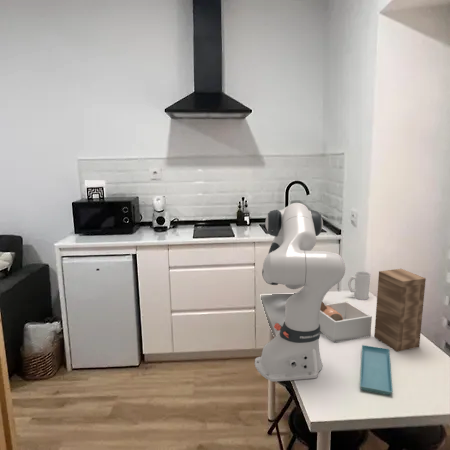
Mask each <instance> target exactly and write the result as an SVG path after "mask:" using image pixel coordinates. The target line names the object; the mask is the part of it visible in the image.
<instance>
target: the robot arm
mask: <svg viewBox="0 0 450 450" xmlns="http://www.w3.org/2000/svg"><path fill="white" fill-rule="evenodd" d="M323 225H324V221H323V218H322V215H321V213H320V212H319V211H317V210H313V209H311V210H309V208H308V207H307V206H306V205H305V204H304V203H299V202H293V203H291V204H289V205H287V206H286V207H284V208H282V209H274V210H270V211H269V212H268V213H267V216H266V218H265V229H266V231H267V234H269V235H270V236H271V237H274V238H273V240H272V242H271V245H270V247H269V250H268V254H267V255H266V256H265V258H264V260H263V263H262V270H261V274H262V278H263V280H264V281H265V282H266V283H267V284H268V285H271V286H272V285H273V286H278V285H284V286H285V287H286V288H287V289H289V290H297V289H300V288H301V289H300V290H299V291H297V292H295V293H293V294H291V295H289V297H288V298H287V300H286V301H285V303H284V304H285V308H284V311H285V312H284V321H283V323H282V325H280V323H278V322H277V323H275V324H274V326H273V328H274V329H275V330H276V331H279V333H278V334H277V335H276V336H274V337H273V338H272V339H271V340H269V341H268V342H267V343H265V344H264V346H263V348H262V350H261V351H262V352H261V356H257V357H256V358H255V359H254V366H255V367H254V368H255V369H256V370H257V372H258V374H260V375H261V376H262V377H264V378H265V379H266V380H268V381H270V382H284V381H285V382H286V381H297V380H309V379H310V380H311V379H316V378H318V376H319V372H320V371H321V370H322V368H323V362H322V358H321V352H320V350H321V349H320V341H319V340H320V337H321V332H320V324H319V317H320V308H321V303H322V302H323V300H324V298H325V296H326V295H327V293H328V292H329V291H330V290H331V289H332V288H334V286H336V285H337V284H339V283H340V282H341V281H343V278H344V277H345V275H346V274H345V273H346V264H345V261H344V259H343V258H342V256H341V255H340V254H339V253H336V252H333V251H327V250H313V249H314V248H315V246H316V243H317V237H318V236H319V235H320V234H321V233H322V229H323Z"/></svg>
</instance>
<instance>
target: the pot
mask: <svg viewBox="0 0 450 450" xmlns="http://www.w3.org/2000/svg"><path fill="white" fill-rule="evenodd" d="M320 310H321V311H322V312H324V313H325V314H326V315H328V316H329V317H331V318H332V319H333V320H335V321H341V320H343V317H342V315H341V314H340V313H338V312H337V311H336V310H334V309H333V308H332V307H330V306H325V303H324V301H322V303H321V308H320Z"/></svg>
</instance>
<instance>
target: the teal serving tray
mask: <svg viewBox="0 0 450 450" xmlns="http://www.w3.org/2000/svg"><path fill="white" fill-rule="evenodd" d="M390 355H391V353H390V349H389V348H383V347H378V346H370V345H365V344H364V345H363V344H362V345H361V357H360V358H361V361H360V362H361V363H360V379H359V380H360V381H359V382H360V383H359V386H360V388H361V391H364V392H370V393H374V394H380V395H385V396H390V395H391V394H392V393H393V392H394V391H393V383H392V382H393V381H392V379H393V378H392V368H391V356H390Z"/></svg>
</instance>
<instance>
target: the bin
mask: <svg viewBox="0 0 450 450" xmlns="http://www.w3.org/2000/svg"><path fill="white" fill-rule="evenodd" d="M324 304H325V303H324ZM325 306H330V307H332V308H333V309H334V310H336V311H337V312H338V313H340V314H341V315H342V317H343V320H341V321H335V320H333V319H332V318H331V317H329V316H328V315H326V314H325V313H324V312H322V311H321V310H320V317H319V324H320V331H321V332H320V333H322V334H323V335H324V336H325V335H326V338H328V340H330V341H332V342H333V343H339V342H345V341H350V340H357V339H360V338H361V339H362V338H367V337H368V338H369V337H371V336H372V334H371V330H372V321H373V320H372V318H373V317H372V315H370V313H369V314H368V313H367V312H365V311H364V310H362V309H360V308H358V307H357V306H356V305H353V304H352V303H350V302H349V301H339V302H334V303H333V302H332V303H328V304H327V303H326V304H325Z"/></svg>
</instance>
